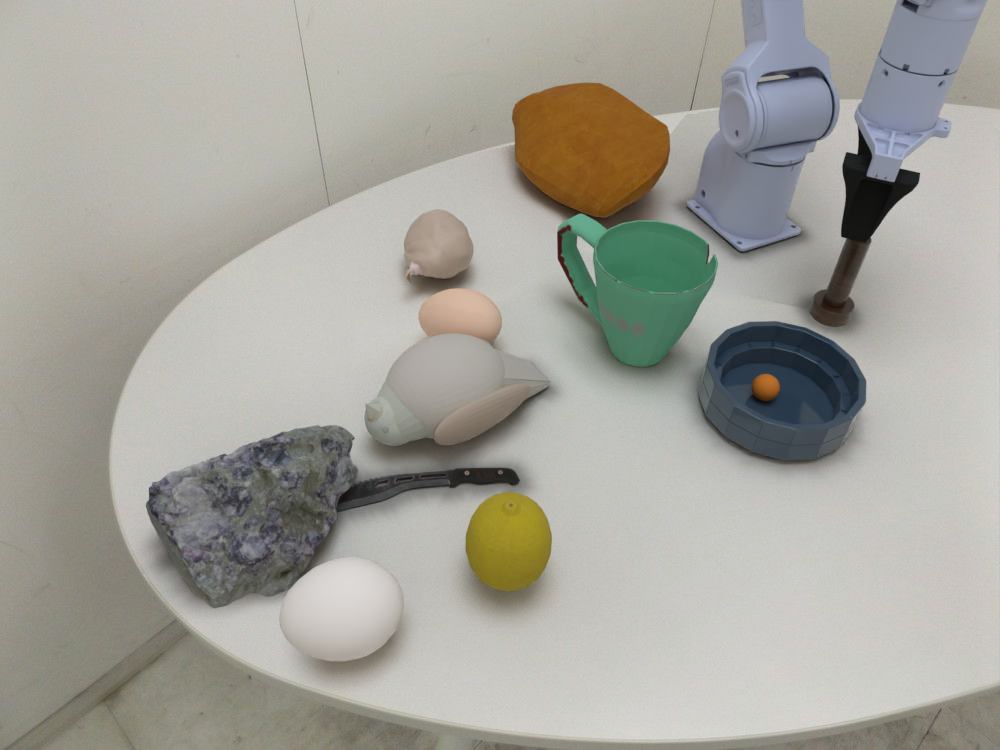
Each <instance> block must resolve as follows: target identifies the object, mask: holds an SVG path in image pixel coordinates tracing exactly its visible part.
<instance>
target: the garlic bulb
mask: <svg viewBox="0 0 1000 750" xmlns="http://www.w3.org/2000/svg"><path fill="white" fill-rule="evenodd" d="M403 248H404V252H403V258H404V261H405V264H406V266H407V267H408V269H405V279H406V280H407V281H408V282H409V283H410V284H412V277H413V276H418V275H420V276H424V277H431V278H434V279H445V280H446V279H451V278H454V277H456V276H457V275H458V274H459V273H461V272H463V271H465V270H466V269H468V268H469V266H470V264H471V262H472V260H473V256H474V252H475V251H474V250H475V249H474V243H473V240H472V239H471V237H470V234H469V230H468V227H467V226H466V224H465V223H464V222H463V221H462V220H460V219H459V218H458V217H457V216H455V215H454V214H452V213H451V212H449V211H447V210H445V209H432V210H429V211H426V212H424V213H422V214H420V215H419V216H418V217H417V218H416V219H414V221H413V222H412V223H410V226H409V227H408V230H407V231H406V234H405V237H404V240H403Z"/></svg>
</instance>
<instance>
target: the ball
mask: <svg viewBox="0 0 1000 750" xmlns="http://www.w3.org/2000/svg"><path fill="white" fill-rule="evenodd" d="M779 391H780V385H779V382H778V380H777V379H776V378H775V377H774V376H772V375H770V374H762V375H759V376H757V377H756V378H755V379H754V381H753V383H752V392H753V394H754V396H755V397H756V398H758V399H759V400H762V401H770V400H772V399H774V398H775V397H776V396H777V395H778V393H779Z"/></svg>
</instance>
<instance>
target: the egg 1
mask: <svg viewBox="0 0 1000 750" xmlns="http://www.w3.org/2000/svg"><path fill="white" fill-rule="evenodd" d="M404 600H405V599H404V593H403V589H402V587H401V585H400V583H399V580H398V579H397V578H396V577H395V576H394V574H392V572H390V571H389V570H388V568H387V567H384V566H383V565H381V564H380V563H378V562H376V561H374V560H371V559H368V558H365V557H359V556H344V557H338V558H335V559H331V560H328V561H326V562H323V563H321V564H318V565H316V566H314V567H313V568H311V569H310V570H309V571H307V572H306V573H305V574H304V575H302V576H301V577H300V578H298V579H297V581H296V582H295V584H294V585H293V586H292V587H291V588H290V589H288V590H287V592H286V595H285V596H284V598H283V600H282V602H281V605H280V609H279V615H278V619H279V627H280V630H281V632H282V634H283V636H284V638H285V640H286V641H287V642H288V643H289V644H290V645H291V646H292V647H293V648H294V649H295V650H296V651H298V652H300V653H302V654H305V655H306V656H309V657H312V658H314V659H319V660H321V661H322V660H323V661H327V662H347V661H353V660H358V659H361V658H362V659H363V658H364V657H365V658H366V657H368V656H369V655H371V654H373V653H374V652H376V651H377V650H379V649H380V648H381V647H383V646H384V645H386V643H387V642H388V640H389V639H390V638H391V637H392V636H393V634H395V632H396V630H397V629H398V628H399V625H400V622H401V620H402V617H403V614H404V613H403V612H404V606H405V601H404Z"/></svg>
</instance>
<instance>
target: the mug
mask: <svg viewBox="0 0 1000 750" xmlns="http://www.w3.org/2000/svg"><path fill="white" fill-rule="evenodd" d="M578 237H579V238H581V239H582V240H583V241H585V242H586V243H587V244H588V245H589V246H590V247H591V248H593V252H592V261H593V270H594V278H595V283H594V280H593V278H592V276H591V273H590V272H589V270H588V267H587V265H586V262H585V261H584V259H583V257H582V255H581V253H580V252H581V251H579V248H578ZM556 242H557V243H556V244H557V246H556V247H557V249H556V250H557V261H558V263H559V265H560V266H561V268H562V270H563V272H564V275H565V276H566V279H567V281H568V282H569V285H570V286H571V289H572V290H573V292H574V294H575V296H576V298H577V299H578V301H579V302H580V303H581V304H582V305H583V306H584V307H585V308H586V310H587V311H588V312H589V313H590V314H591V315H592V316H593V317H594V318H595V320H596V321H597V322H598V323H599V324H600V325H601V326H602V329H603V332H604V335H605V338H606V341H607V344H608V347H609V350H610V352H611V354H612V356H614V358H616V359H617V361H619V362H621V363H623V364H625V365H627V366H631V367H634V368H635V367H636V368H647V367H651V366H652V367H653V366H654V365H656V364H659V363H660V361H662V360H663V358H665V356H666V355H667V354H668V353H669V352H670V351H671V349H673V348H674V346H675V345H676V344H677V343H678V341H679V340H680V338H681V337H682V336H683V334H684V333H685V332H686V330H687V329H688V327H689V326H690V325H691V323H692V322H693V320H694V318H695V316H696V314H697V312H698V310H699V308H700V306H701V304H702V302H703V301H704V299H705V298H706V296H707V295H708V293H709V292H710V291H711V288H712V286H713V285H714V282H715V279H716V277H717V272H718V267H719V260H718V258H717V256H716V254H713V255H712V257H711V258H710V260H709V257H710V244H709V243H708V241H707V240H706V239H704V238H703V237H702V236H700V235H699V234H697V233H695V232H694V231H692V230H691V229H688V228H685V227H683V226H680V225H678V224H675V223H671V222H666V221H661V220H647V219H646V220H645V219H644V220H642V219H641V220H639V219H638V220H633V221H626V222H621V223H618V224H616V225H614V226H611V227H609V228H608V229H607V228H606V227H605V226H603V225H602V224H601V223H600V222H598V221H597V220H595V219H593V218H591V216H589V215H587V214H585V213H577V214H576V215H574V216H572V217H570V218H567V219H565V221H562V222H561V223H560V224H559V226H558V227H557V230H556Z"/></svg>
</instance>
